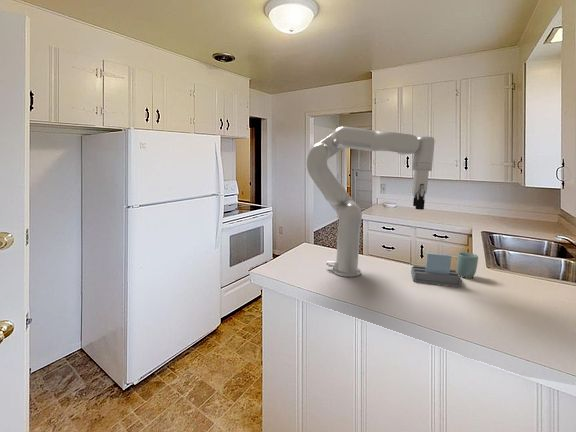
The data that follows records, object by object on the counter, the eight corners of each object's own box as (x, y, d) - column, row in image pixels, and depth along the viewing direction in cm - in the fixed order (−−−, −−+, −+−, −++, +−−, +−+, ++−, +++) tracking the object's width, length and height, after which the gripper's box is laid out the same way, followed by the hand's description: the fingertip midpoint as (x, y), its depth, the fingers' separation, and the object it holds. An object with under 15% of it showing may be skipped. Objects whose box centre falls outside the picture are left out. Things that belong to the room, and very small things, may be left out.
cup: (457, 272, 144) (460, 251, 142) (476, 276, 139) (479, 254, 137) (453, 276, 138) (456, 254, 136) (473, 281, 133) (476, 258, 132)
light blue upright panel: (425, 278, 132) (427, 253, 130) (424, 277, 133) (427, 252, 131) (448, 281, 129) (451, 256, 127) (447, 280, 131) (450, 254, 129)
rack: (413, 281, 131) (414, 272, 130) (411, 273, 141) (411, 264, 140) (461, 287, 126) (462, 278, 125) (455, 278, 136) (456, 269, 136)
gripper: (410, 166, 139) (407, 204, 142) (414, 167, 123) (410, 210, 126) (428, 167, 137) (424, 205, 140) (435, 167, 121) (430, 211, 124)
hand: (418, 207), depth 133 cm, fingers open, 9 cm apart
